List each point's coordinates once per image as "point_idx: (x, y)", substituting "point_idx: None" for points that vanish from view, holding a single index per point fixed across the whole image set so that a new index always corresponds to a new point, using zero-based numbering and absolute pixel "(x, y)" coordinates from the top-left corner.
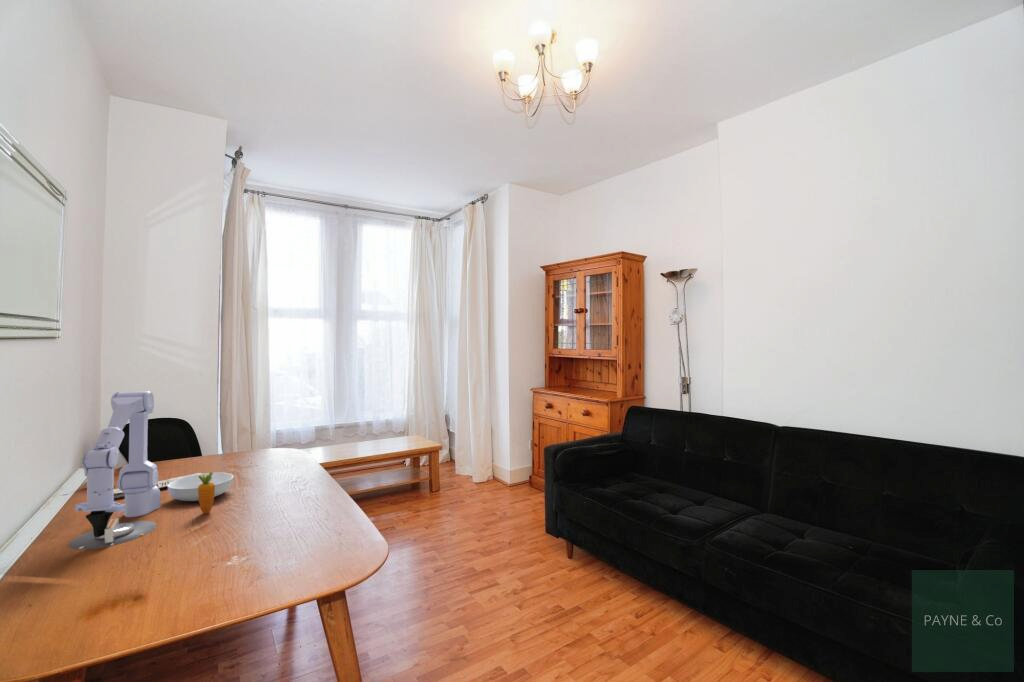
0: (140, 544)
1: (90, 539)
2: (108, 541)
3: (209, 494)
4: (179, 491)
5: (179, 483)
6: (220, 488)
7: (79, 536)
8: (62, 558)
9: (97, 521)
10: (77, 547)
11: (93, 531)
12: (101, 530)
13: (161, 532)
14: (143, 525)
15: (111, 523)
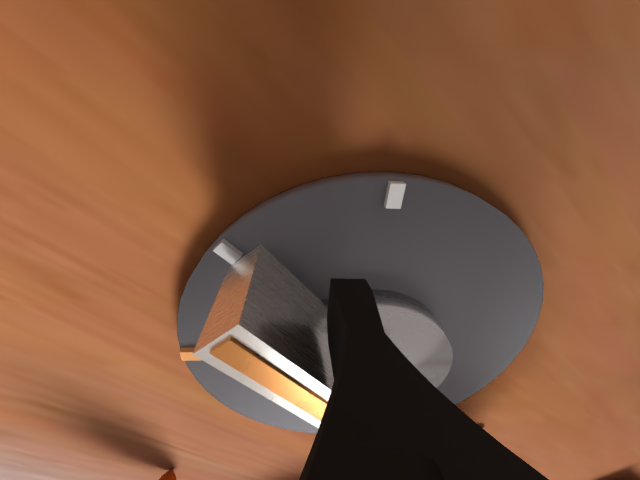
0: (123, 289)
1: (440, 295)
2: (243, 259)
3: None
4: None
5: None
6: None
7: (530, 316)
8: (438, 80)
9: (322, 418)
10: (434, 203)
11: (375, 306)
12: (335, 330)
13: (183, 383)
14: None
15: (318, 406)
